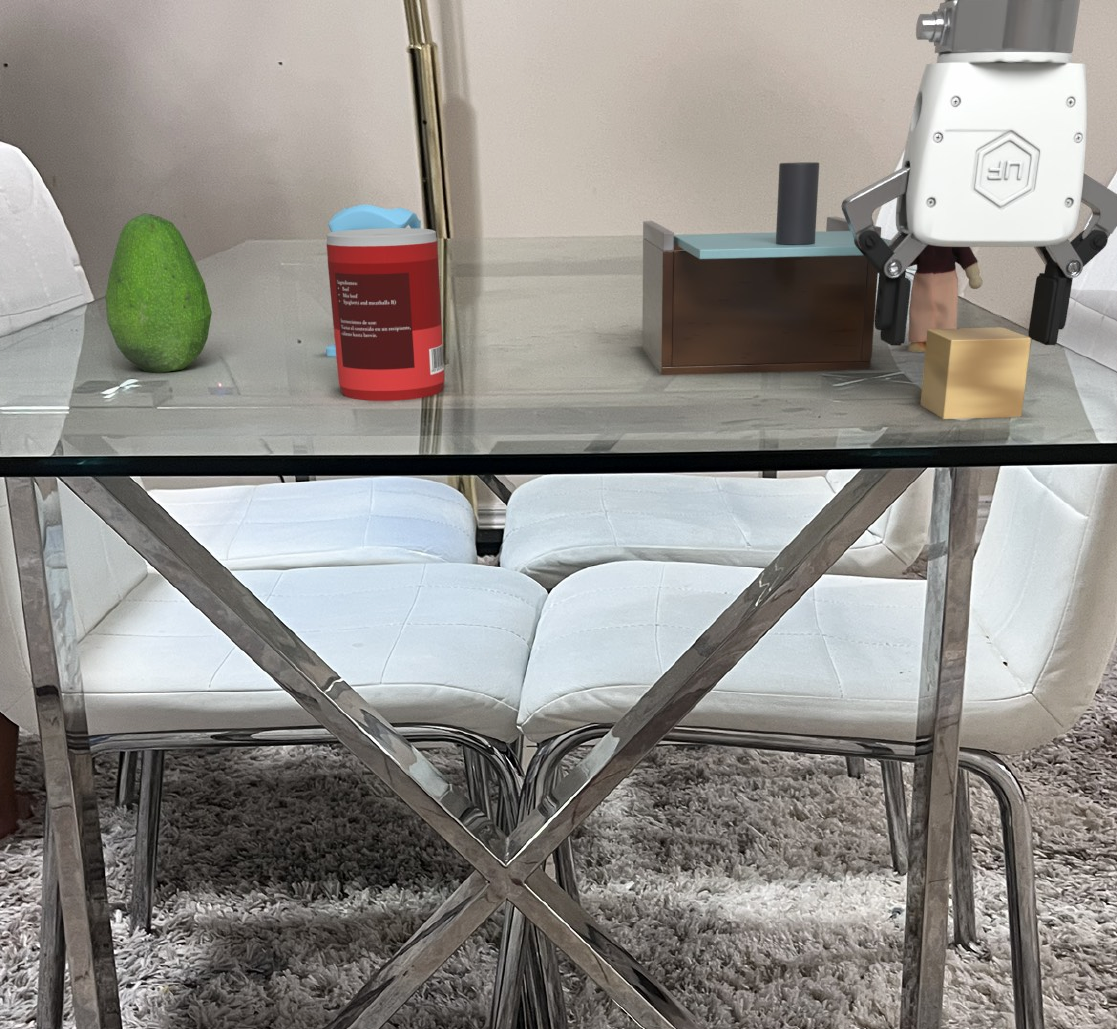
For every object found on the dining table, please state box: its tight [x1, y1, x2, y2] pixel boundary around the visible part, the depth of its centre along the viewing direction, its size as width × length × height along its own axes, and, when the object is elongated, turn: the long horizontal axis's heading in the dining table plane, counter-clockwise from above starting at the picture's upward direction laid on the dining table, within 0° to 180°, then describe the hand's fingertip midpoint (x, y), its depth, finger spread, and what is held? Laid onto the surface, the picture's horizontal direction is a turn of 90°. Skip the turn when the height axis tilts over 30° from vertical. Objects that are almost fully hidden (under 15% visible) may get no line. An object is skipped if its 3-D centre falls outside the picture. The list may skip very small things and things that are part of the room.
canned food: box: [326, 227, 445, 402], centre depth 94 cm, size 8×8×11 cm
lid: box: [674, 161, 891, 259], centre depth 93 cm, size 14×14×6 cm
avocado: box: [104, 212, 213, 374], centre depth 105 cm, size 8×8×12 cm
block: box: [920, 326, 1032, 420], centre depth 85 cm, size 5×5×5 cm
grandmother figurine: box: [906, 244, 983, 353], centre depth 107 cm, size 8×4×13 cm, turn 72°
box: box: [641, 216, 882, 376], centre depth 106 cm, size 16×14×10 cm
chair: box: [325, 203, 422, 357], centre depth 113 cm, size 8×8×12 cm
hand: (966, 342), depth 85 cm, fingers open, 9 cm apart
